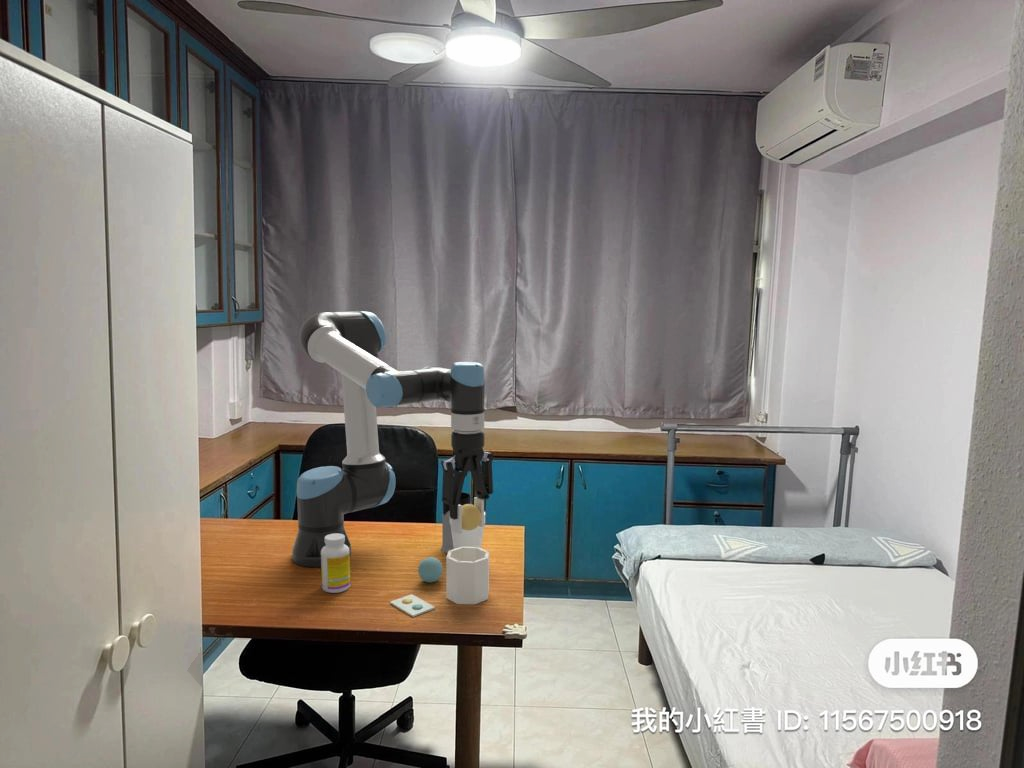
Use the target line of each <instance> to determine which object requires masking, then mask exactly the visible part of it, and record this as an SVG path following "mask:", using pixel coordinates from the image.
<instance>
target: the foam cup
mask: <svg viewBox="0 0 1024 768" xmlns="http://www.w3.org/2000/svg"><path fill="white" fill-rule="evenodd" d="M450 525H451V532H452V540H453V547H454V549H456V548H459V547H479V548H482V546H483V538H484V529H485V526H484V527H480V526H478V527H476V528H475V529H473V530H464V529H462V533H460V534H459V533H456V532H454V531H452V519H451V518H450ZM484 525H486V511H484Z"/></svg>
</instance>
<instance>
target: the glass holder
mask: <svg viewBox="0 0 1024 768" xmlns="http://www.w3.org/2000/svg"><path fill="white" fill-rule="evenodd" d="M465 504H471V494H470V493H467V492H463V491H462V493H461V497H460V501H459V505H462V506H463V505H465ZM441 513H442V515H441V516H442V517H441V518H442V521H441V523H442V528H441V529H442V531H441V532H442V537H441V539H442V542H441V543H442V544H441V546H440V551H441V552H442V553H444V554H448V551H449V550H453V549H454V547H453V540H452V532H451V525H450V505H448V504H446V503H443V502H442V512H441Z"/></svg>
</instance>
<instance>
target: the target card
mask: <svg viewBox="0 0 1024 768" xmlns="http://www.w3.org/2000/svg"><path fill="white" fill-rule="evenodd" d="M389 604H391V605H393V606H394V607H395V608H397V609H399V610H401V611H402V612H404V613H405V614H407V615H409V616H411V617H413V618H414V617H417V616H420V615H423V614H425V613H427V612H430V611H434V610H435V609H436V607H435V606H434V605H432V604H430V603H428V602H426V600H423V599H422V598H420V597H418V596H416V595H414V594H412V593H411V594H408V595H405V596H402V597H400V598H396V599H394V600H391V601H390V602H389Z"/></svg>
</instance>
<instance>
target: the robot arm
mask: <svg viewBox="0 0 1024 768" xmlns="http://www.w3.org/2000/svg"><path fill="white" fill-rule="evenodd" d="M301 325H302V326H301V328H300V329H299V334H298V337H299V338H298V339H299V340H298V341H299V345H300V348H301V349H302V350H303V351H302V352H304V353H305V354H306V355H307V356H308V357H309V358H311V359H312V360H314V361H315V362H318V363H325V364H326V365H329V366H330V367H332V368H333V369H335V370H336V371H338V372H339V373H341V384H342V385H341V386H342V399H343V413H344V427H345V440H346V454H347V455H346V456H345V458H343V460H341V461H342V462H341V463H342V464H341V465H342V468H341V467H339V466H336V465H326V466H319V467H315V468H311V469H309V470H306V471H304V472H303V473H301V474H300V475H299V477H298V479H297V482H296V483H297V484H296V497H297V498H296V500H297V502H296V503H297V522H298V523H297V524H298V525H297V526H298V530H297V533H296V536H295V537H296V538H295V541H294V544H293V547H292V550H291V551H292V552H291V553H292V556H291V557H292V562H293V563H294V564H296V565H299V566H302V567H306V568H307V567H309V568H321V550H322V548H323V547H324V546H326V544H325V536H326V535H329V534H334V533H339V534H343V535H345V542H344V544H345V545H347V546H348V547H349V553H350V557H351V556H352V545H351V542H350V540H349V536H348V535H347V532H346V529H345V524H344V523H345V522H344V519H345V517H344V515H346V514H348V513H349V514H351V513H354V512H358V511H362V510H366V509H371V508H372V509H373V508H376V507H378V506H381V505H384V504H386V503H388V502H389V501H390V499H391V498H392V497H393V495H394V493H395V489H396V476H395V471H393V470H394V469H393V466H391V465H390V464H389V462H387V461H386V457H385V456H384V455H383V454H381V453H380V450H379V449H380V447H379V433H378V431H379V430H378V417H377V408H393V407H398V406H404V405H410V404H411V405H412V404H418V403H426V402H433V401H442V402H443V401H445V402H450V404H451V405H450V406H451V408H450V428H451V430H452V432H451V433H450V435H451V437H450V438H451V448H452V454H451V458H449V459H446V460H445V459H443V460H441V466H442V467H441V468H442V488H441V489H442V490H441V492H442V493H441V502H442V504H443V503H446V504H448V505H450V518H451V519H452V531H454V532H456V533H459V534H460V533H462V505H459V501H460V497H461V493H462V492H463V487H464V483H465V479H466V477H467V476H468V473H469V472H470V474H471V478H472V482H473V485H474V489H475V493H476V496H475V497H474V498H473V505H475V506H476V507H477V508H478V509H479V510H480V512H481V522H480V524H479V526H480V527H484V528H485V524H484V512H486V510H487V500H489V499H490V495H492V494H493V493H494V484H493V483H494V481H493V459H494V453H492V452H490V451H489V452H488V451H485V450H484V447H485V432H484V429H485V387H486V386H485V384H486V379H485V368H484V365H483V364H482V363H481V362H477V361H457V362H453V363H452V364H451V367H450V368H446V367H440V366H436V365H435V366H424V367H422V368H421V369H412V370H402V371H401V370H397V369H395V368H394V367H392V366H391V365H388V364H387V363H385V362H384V361H382V360H380V359H379V354H380V353H381V352H383V350H384V349H385V345H386V342H387V336H386V335H387V333H386V329H385V327H384V324H383V323H382V321H381V319H380V318H379V317H378V316H377V315H376V314H375V313H373V312H371V311H362V310H355V311H354V310H353V311H352V310H351V311H331V312H330V311H325V312H323V311H322V312H318V313H315V314H313V315H311V316H310V317H308V318H307V319H306V320H305V321H304V322H303V324H301Z"/></svg>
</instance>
